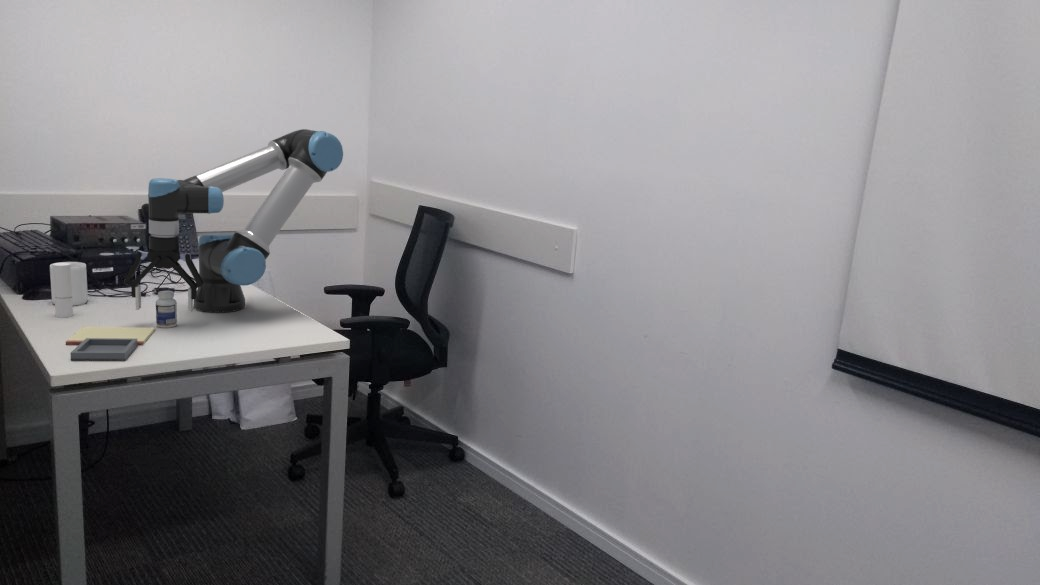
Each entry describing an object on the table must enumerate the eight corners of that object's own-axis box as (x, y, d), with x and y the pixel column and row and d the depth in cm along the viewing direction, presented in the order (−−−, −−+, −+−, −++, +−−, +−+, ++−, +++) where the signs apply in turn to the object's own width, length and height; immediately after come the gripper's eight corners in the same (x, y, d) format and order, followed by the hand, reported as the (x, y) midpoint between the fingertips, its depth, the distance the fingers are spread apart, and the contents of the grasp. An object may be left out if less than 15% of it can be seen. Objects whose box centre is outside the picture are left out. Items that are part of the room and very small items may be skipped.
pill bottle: (160, 322, 222) (159, 289, 220) (179, 323, 222) (179, 290, 220) (153, 327, 217) (152, 293, 214) (173, 328, 217) (172, 295, 215)
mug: (46, 306, 229) (44, 267, 227) (62, 296, 241) (60, 259, 238) (81, 307, 231) (79, 268, 229) (95, 297, 243) (93, 260, 240)
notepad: (155, 330, 214) (154, 327, 214) (142, 345, 201) (142, 342, 201) (83, 329, 210) (83, 326, 210) (65, 344, 197) (65, 341, 197)
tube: (65, 318, 219) (62, 266, 216) (52, 316, 220) (49, 264, 216) (76, 314, 223) (73, 263, 220) (63, 312, 224) (60, 262, 221)
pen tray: (137, 346, 200) (137, 338, 200) (125, 360, 189) (124, 353, 188) (86, 345, 198) (86, 338, 197) (70, 360, 186) (70, 352, 186)
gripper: (214, 235, 220) (213, 307, 225) (118, 230, 214) (120, 304, 219) (209, 239, 213) (209, 314, 217) (110, 234, 207) (112, 311, 212)
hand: (164, 309), depth 218 cm, fingers open, 13 cm apart
